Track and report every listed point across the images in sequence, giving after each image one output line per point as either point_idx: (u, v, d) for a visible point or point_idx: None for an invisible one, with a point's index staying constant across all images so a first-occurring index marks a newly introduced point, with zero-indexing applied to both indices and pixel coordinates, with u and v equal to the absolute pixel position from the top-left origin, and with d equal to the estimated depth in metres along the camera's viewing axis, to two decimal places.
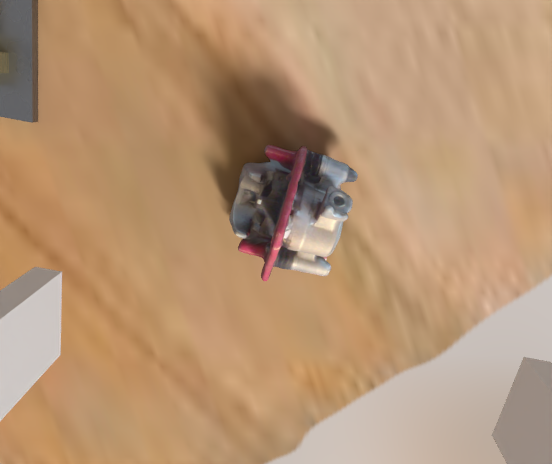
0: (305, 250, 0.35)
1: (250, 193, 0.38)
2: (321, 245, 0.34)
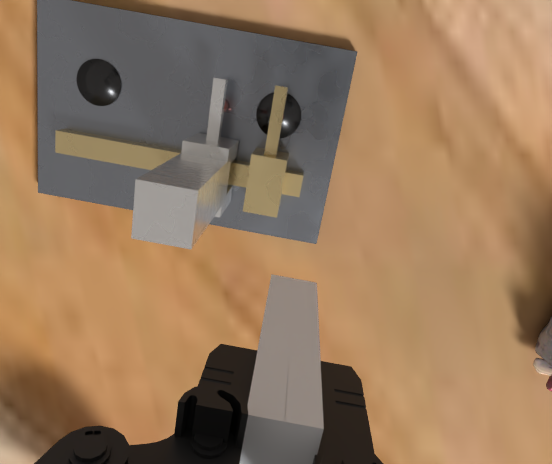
0: None
1: None
2: None
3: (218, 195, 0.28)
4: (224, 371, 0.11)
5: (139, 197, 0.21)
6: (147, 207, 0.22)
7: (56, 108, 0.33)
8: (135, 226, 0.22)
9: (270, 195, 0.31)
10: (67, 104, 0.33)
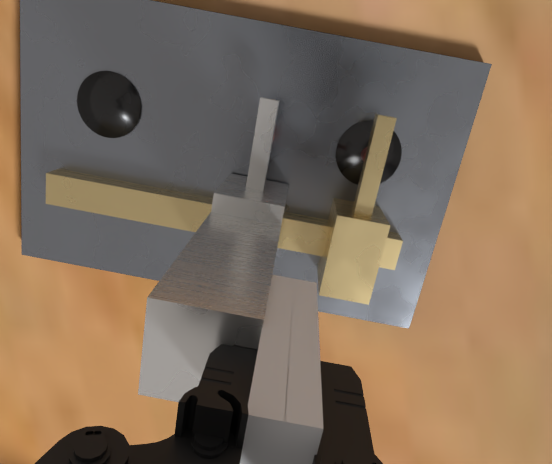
0: None
1: None
2: None
3: None
4: (224, 371, 0.11)
5: (154, 328, 0.12)
6: (167, 345, 0.12)
7: (47, 140, 0.23)
8: (145, 375, 0.12)
9: (360, 274, 0.21)
10: (63, 135, 0.23)
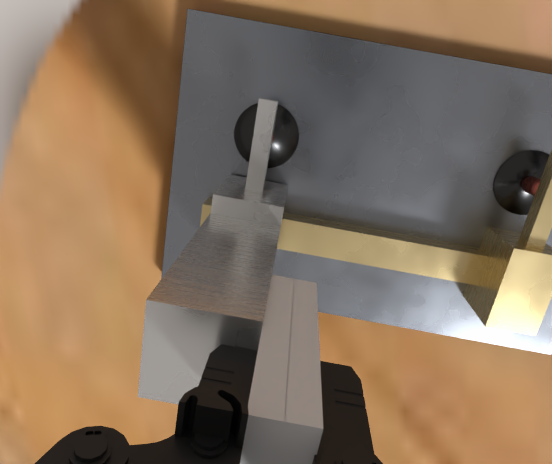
0: None
1: None
2: None
3: None
4: (224, 371, 0.11)
5: (153, 331, 0.12)
6: (167, 348, 0.12)
7: (199, 170, 0.23)
8: (145, 378, 0.12)
9: (531, 306, 0.21)
10: (216, 165, 0.23)
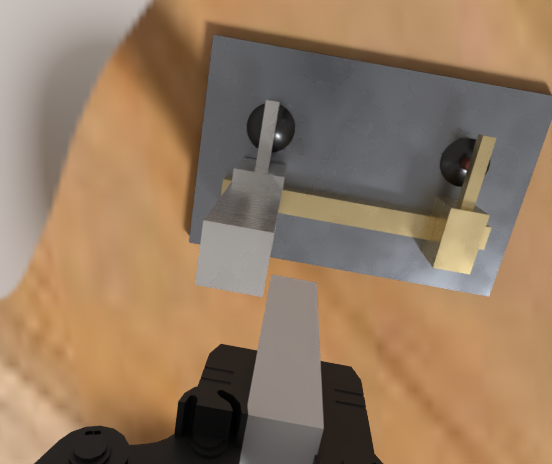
0: None
1: None
2: None
3: None
4: (224, 371, 0.11)
5: (206, 240, 0.19)
6: (214, 251, 0.19)
7: (220, 154, 0.30)
8: (200, 271, 0.20)
9: (465, 251, 0.28)
10: (232, 150, 0.30)
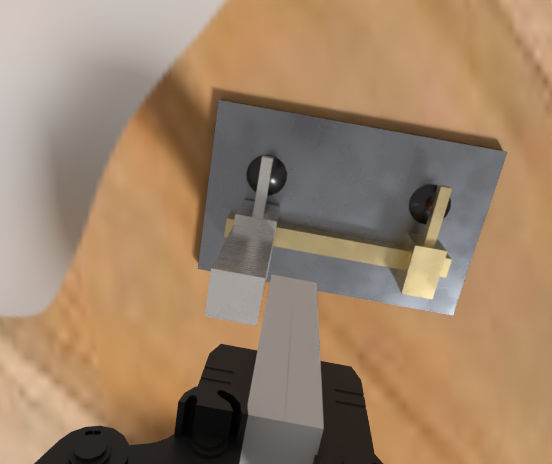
0: None
1: None
2: None
3: None
4: (224, 371, 0.11)
5: (213, 283, 0.25)
6: (219, 291, 0.25)
7: (224, 196, 0.36)
8: (208, 306, 0.25)
9: (428, 280, 0.34)
10: (234, 193, 0.36)
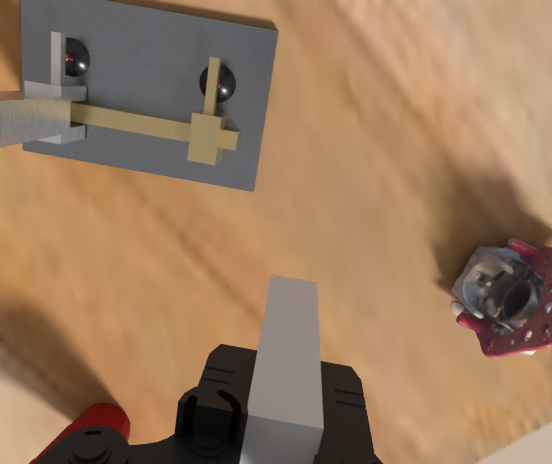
0: None
1: (481, 274, 0.42)
2: None
3: (49, 121, 0.35)
4: (224, 371, 0.11)
5: None
6: None
7: (37, 79, 0.40)
8: None
9: (208, 146, 0.38)
10: (46, 75, 0.40)
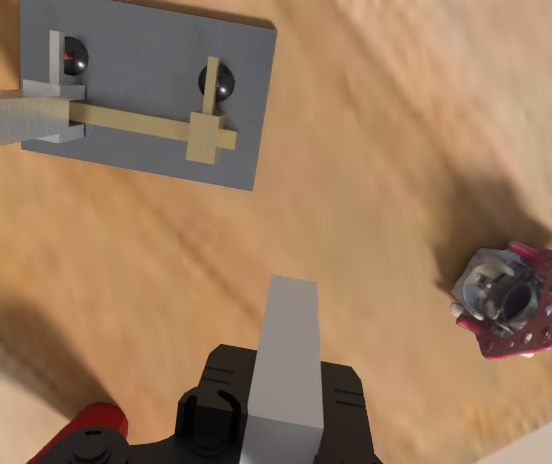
0: None
1: (481, 276, 0.42)
2: None
3: (47, 120, 0.35)
4: (224, 371, 0.11)
5: None
6: None
7: (35, 77, 0.40)
8: None
9: (207, 146, 0.38)
10: (44, 74, 0.40)
